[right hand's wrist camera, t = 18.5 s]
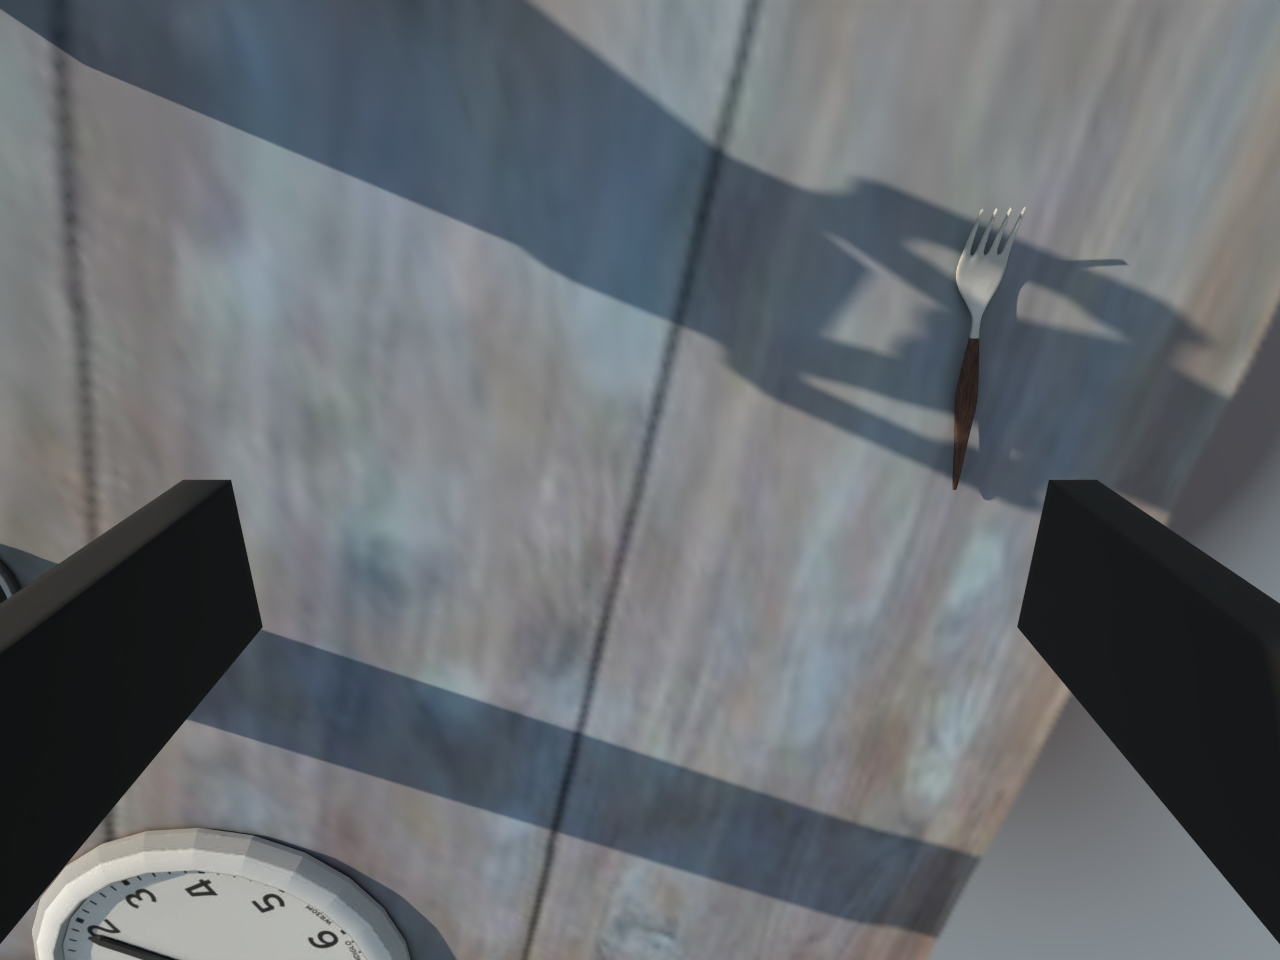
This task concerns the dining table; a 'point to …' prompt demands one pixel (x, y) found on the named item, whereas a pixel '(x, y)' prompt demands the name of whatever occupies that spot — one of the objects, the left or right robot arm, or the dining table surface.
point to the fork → (976, 323)
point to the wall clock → (209, 904)
